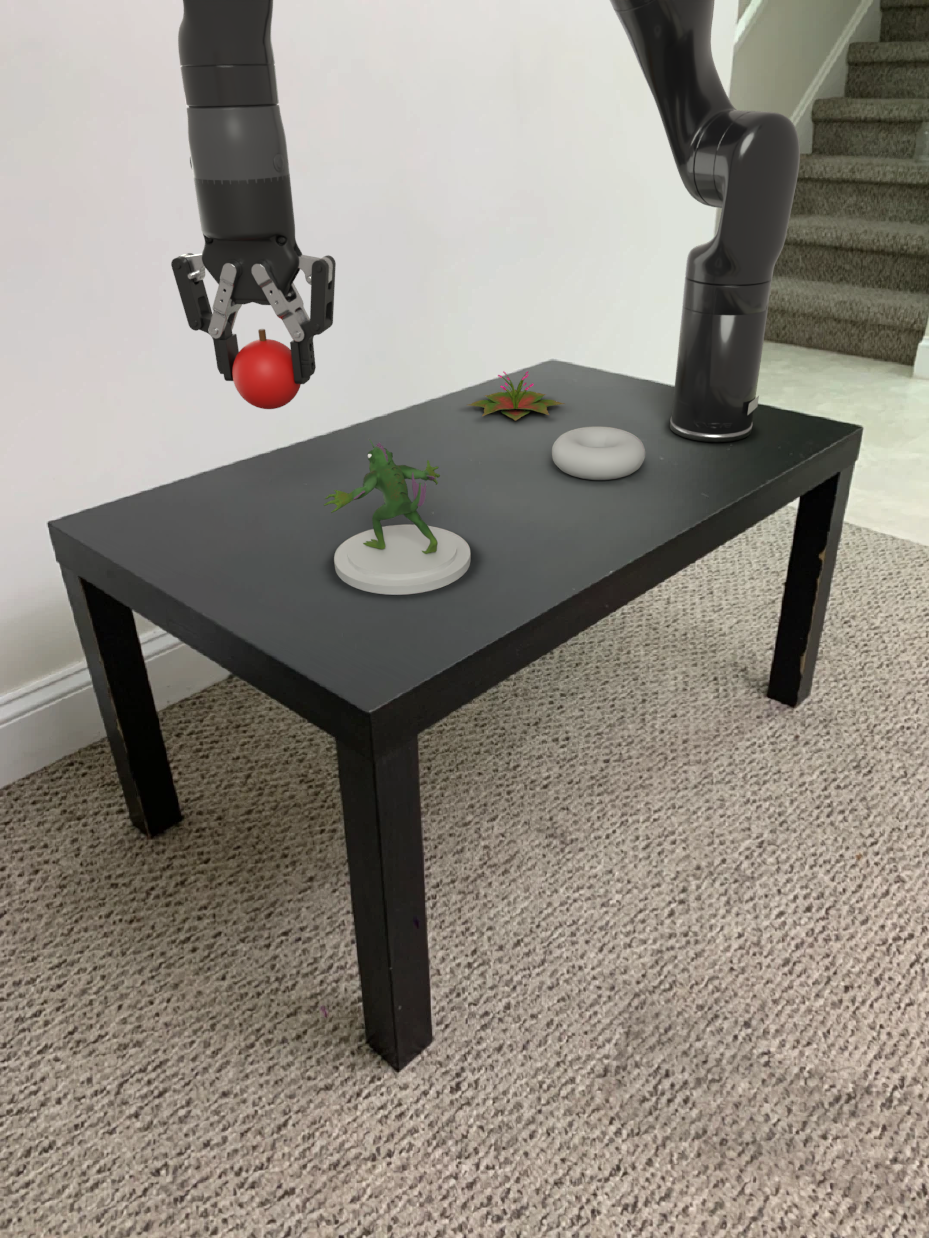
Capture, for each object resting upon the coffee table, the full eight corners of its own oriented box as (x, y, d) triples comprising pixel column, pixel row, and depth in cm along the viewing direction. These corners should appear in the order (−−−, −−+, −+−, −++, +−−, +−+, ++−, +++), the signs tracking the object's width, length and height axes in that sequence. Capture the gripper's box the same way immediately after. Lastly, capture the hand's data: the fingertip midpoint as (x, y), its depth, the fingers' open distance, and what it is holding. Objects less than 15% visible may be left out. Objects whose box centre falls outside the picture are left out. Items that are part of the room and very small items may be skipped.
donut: (545, 483, 98) (642, 487, 96) (545, 452, 97) (644, 455, 95) (557, 450, 107) (646, 453, 105) (557, 420, 105) (648, 423, 103)
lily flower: (515, 432, 112) (515, 394, 109) (448, 409, 119) (447, 374, 117) (582, 409, 119) (584, 373, 116) (515, 389, 126) (515, 355, 124)
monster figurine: (423, 521, 90) (418, 418, 85) (497, 567, 82) (497, 456, 77) (311, 555, 85) (298, 447, 79) (378, 609, 76) (369, 491, 71)
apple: (253, 396, 87) (243, 320, 84) (314, 399, 86) (306, 322, 83) (226, 416, 82) (214, 337, 79) (290, 420, 81) (281, 339, 78)
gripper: (342, 166, 76) (358, 372, 85) (180, 166, 79) (211, 365, 88) (310, 176, 70) (330, 397, 79) (135, 175, 73) (173, 389, 81)
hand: (267, 379), depth 83 cm, fingers closed on apple, 6 cm apart
